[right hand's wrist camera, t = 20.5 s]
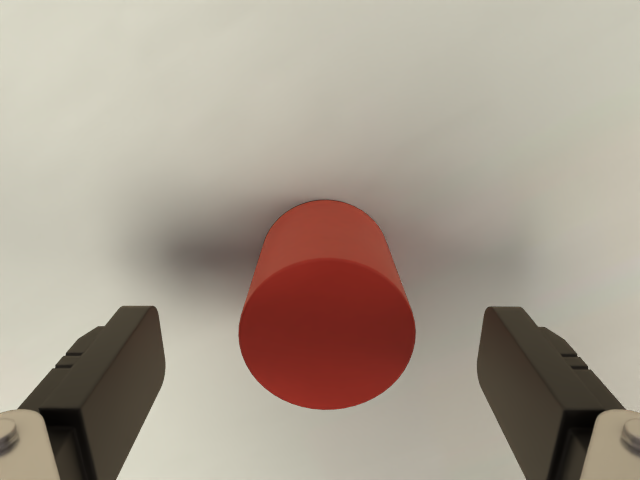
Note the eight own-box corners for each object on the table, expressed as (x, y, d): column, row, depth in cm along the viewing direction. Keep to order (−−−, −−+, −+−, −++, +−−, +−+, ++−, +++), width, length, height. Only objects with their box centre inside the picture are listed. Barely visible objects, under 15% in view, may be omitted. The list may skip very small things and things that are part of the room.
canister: (329, 172, 15) (333, 220, 10) (414, 263, 16) (451, 344, 11) (235, 257, 16) (201, 335, 11) (321, 337, 17) (321, 437, 12)
